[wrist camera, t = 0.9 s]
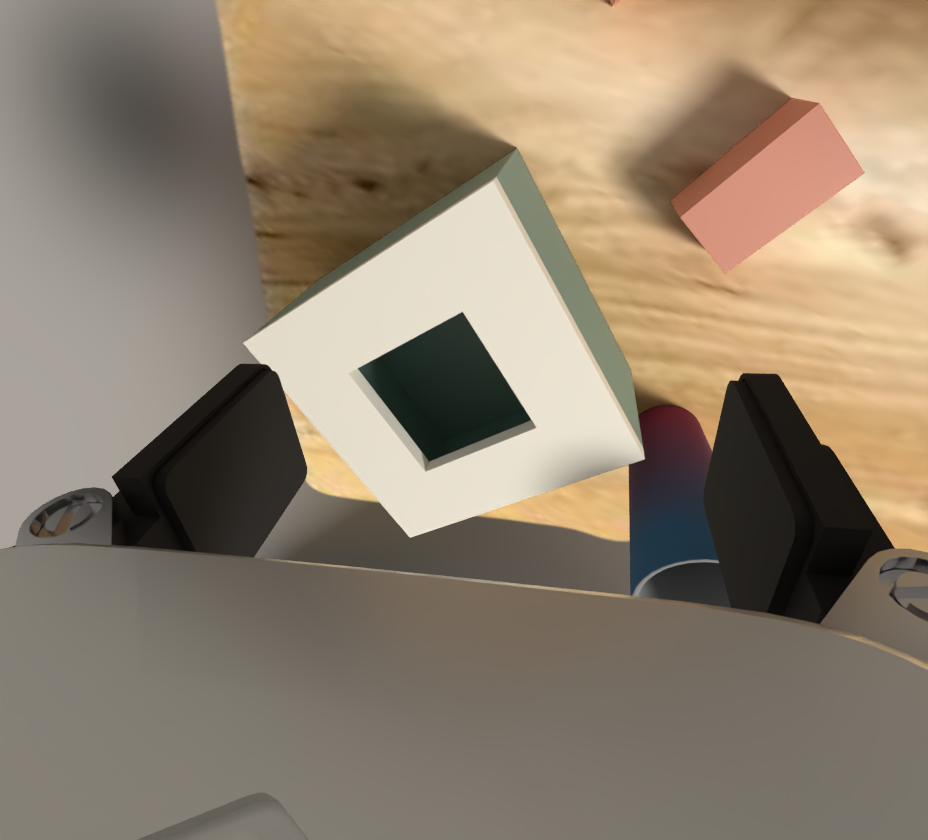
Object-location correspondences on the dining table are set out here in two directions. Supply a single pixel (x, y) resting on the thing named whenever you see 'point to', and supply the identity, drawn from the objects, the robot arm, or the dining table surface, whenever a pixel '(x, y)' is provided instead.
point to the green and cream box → (460, 358)
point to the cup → (672, 513)
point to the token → (767, 182)
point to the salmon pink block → (614, 2)
